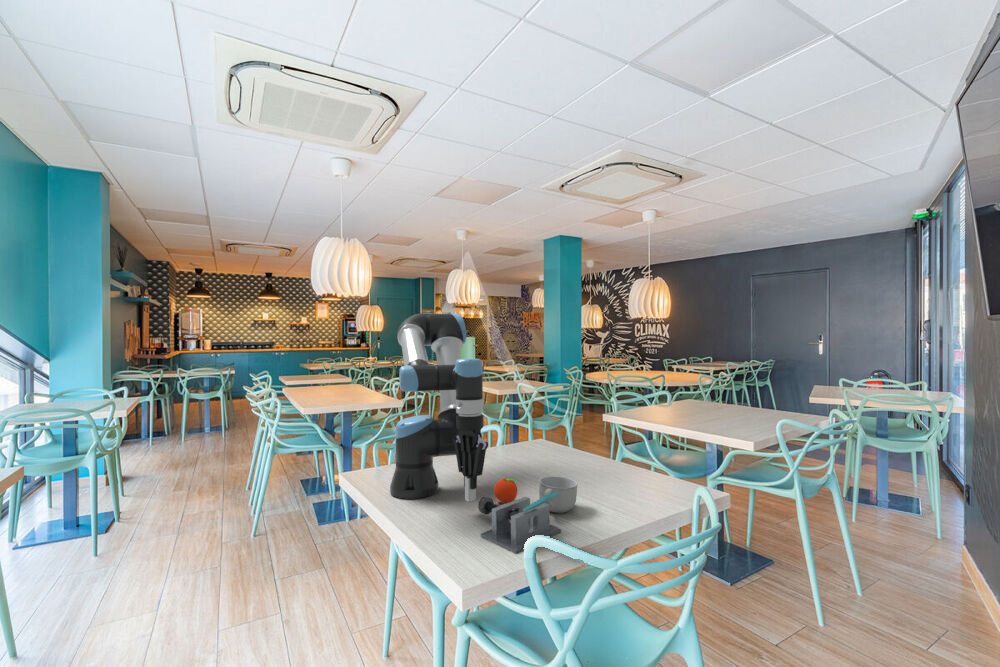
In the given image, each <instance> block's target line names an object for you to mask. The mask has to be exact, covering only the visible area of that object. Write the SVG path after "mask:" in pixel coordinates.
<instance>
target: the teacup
mask: <svg viewBox="0 0 1000 667" xmlns="http://www.w3.org/2000/svg"><path fill="white" fill-rule="evenodd" d="M538 482H539V486H538V487H539V489H538V495H539V496H538V497H539V499H540V498H542V497H544V496H546V495H549V494H551V493H554V492H557V491H558V492H559V494H558V495H557V496H555V497H553V498H551V499H550V500H548V501H546V502H545V504H548V505H549V507H550V512H552V513H559V514H563V513H564V514H565V513H567V512H569V511H570V510H572V509H573V508H574V507H575V506H576V503H577V495H578V485H579V484H578V482H577V481H576V480H575V479H573V478H570V477H567V476H562V475H547V476H542V477H540V478H539V480H538ZM539 499H538V500H539ZM543 504H544V503H543Z"/></svg>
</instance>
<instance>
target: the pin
mask: <svg viewBox="0 0 1000 667" xmlns="http://www.w3.org/2000/svg"><path fill="white" fill-rule="evenodd" d="M477 506H478V507H477V508H478V511H479V513H481V514H483V515H487V516H488V515H489V514H492V509H493V508H496V507H498V506H501V505H500V504H498V503H495V502H494V499H493V498H492V497H489V496H487V495H486V496H483V497H481V498H480V500H479V502H478V505H477ZM516 514H518V512H516V511H514V510H511V511H509V521H511V516H513V515H516Z"/></svg>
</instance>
